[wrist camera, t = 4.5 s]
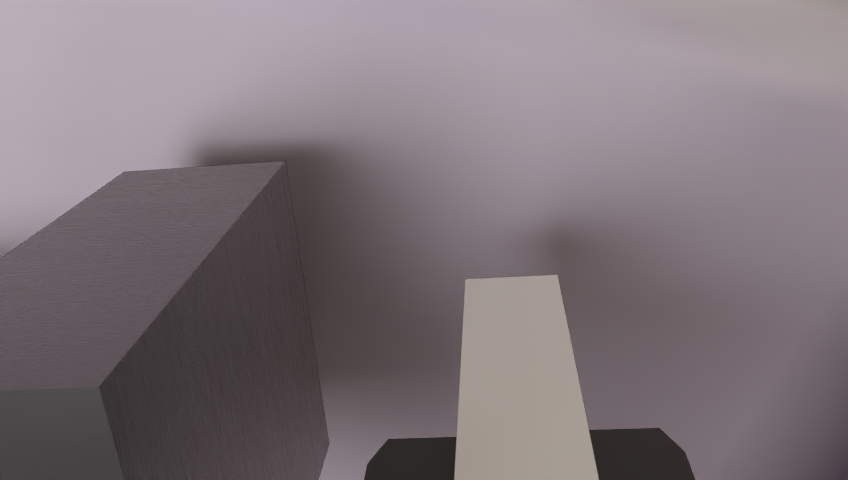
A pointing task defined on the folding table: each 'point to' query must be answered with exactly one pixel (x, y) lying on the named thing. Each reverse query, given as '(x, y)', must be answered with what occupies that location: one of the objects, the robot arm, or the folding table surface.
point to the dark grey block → (162, 335)
